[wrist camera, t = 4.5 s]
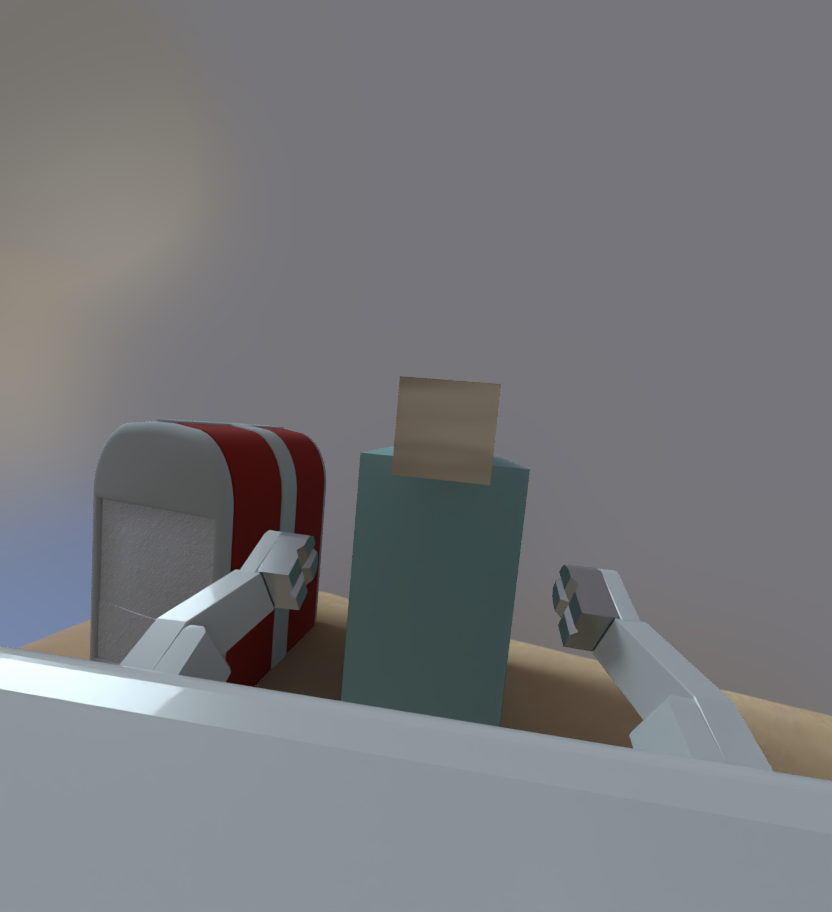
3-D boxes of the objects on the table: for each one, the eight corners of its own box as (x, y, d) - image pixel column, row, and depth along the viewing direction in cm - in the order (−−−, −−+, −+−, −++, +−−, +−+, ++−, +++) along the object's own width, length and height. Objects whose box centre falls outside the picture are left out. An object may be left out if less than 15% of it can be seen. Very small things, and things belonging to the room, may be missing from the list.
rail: (427, 449, 37) (430, 414, 37) (462, 453, 37) (466, 417, 37) (391, 474, 13) (400, 376, 13) (489, 485, 13) (500, 384, 13)
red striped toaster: (319, 621, 47) (333, 431, 45) (216, 726, 29) (231, 426, 28) (223, 597, 50) (232, 421, 49) (83, 677, 33) (88, 411, 31)
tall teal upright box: (375, 634, 45) (391, 444, 43) (478, 650, 43) (500, 454, 42) (316, 794, 25) (342, 451, 23) (505, 832, 23) (548, 472, 22)
